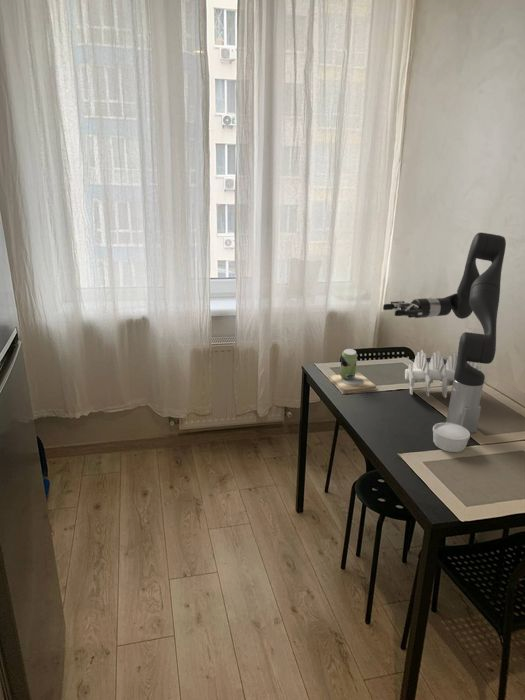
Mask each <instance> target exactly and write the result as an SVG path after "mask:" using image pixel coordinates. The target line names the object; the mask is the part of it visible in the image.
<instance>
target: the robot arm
mask: <svg viewBox="0 0 525 700" xmlns="http://www.w3.org/2000/svg"><path fill="white" fill-rule="evenodd" d="M506 245H507V242H506V238H505V237H504V236H503V235H500V234H499V235H498V234H495V233H494V234H493V233H487V232H477V233H476V234H475V235H474V237H473V239H472V241H471V243H470V245H469V246H470V247H469V251H468V253H467V258H466V263H465V265H464V270H463V275H462V278H461V279H460V283H459V284H458V287H457V290H456V293H453V294H451V295H447V296H446V297H445V296H444V297H441V298H440V297H439V298H432V297H429V298H428V297H426V298H425V297H423V298H415V299H413V300H412V301H411V302H405V301H404V300H400V301H390V303H385V304H383V306H382V307H383V308H382V309H383V310H384V311H390V310H392V311H393V310H394V316H395V317H403V316H404V317H408V319H409V318H415V319H420V318H421V319H422V318H433V317H441V316H449V314H450V313H451V312H452V313H454V315H455V317H457V318H458V319H462V320H463V319H467V318H468V317H470V316H471V315H472V314H474V315H475V317H476V318H477V320H478V321H479V322H480V324H481V327H482V330H483V333H475V332H470V331H469V332H466V331H465V332H463V333H462V334H461V336H460V337H459V342H458V348H457V349H458V350H457V355H458V356H457V355H456V356H457V364H456V370H455V374H454V380H453V381H452V386H451V393H450V398H449V404H448V409H447V414H446V421H445V423H453V424H457V425H460V426H462V427H464V428H466V429H467V430H468V431H469V432H470V434H474V433H477V430H478V425H479V420H480V414H481V410H482V406H481V405H480V403H481V398H482V394H483V393H482V392H483V387H484V384H485V379H486V378H485V377H486V375H485V374H484V373H483V372H482V371H481V370H480V371H479V370H477V369H475V368H474V367H472V366H470V365H469V364H468V363H467V361H469V362H476V363H478V364H484V365H485V364H486V365H488V364H491V363H492V362H493V361H494V359H495V355H496V352H497V351H496V350H497V320H498V313H499V312H498V311H499V304H500V295H501V294H500V293H501V281H502V280H501V279H502V270H503V263H504V259H505V258H504V257H505V253H506V248H507V247H506ZM477 259H478V260H482V261H487V262H491V264H490V266H489V267H487V269H486V270H485V271H484V272H482V274H480V273H479V270H478V267H477Z"/></svg>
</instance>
